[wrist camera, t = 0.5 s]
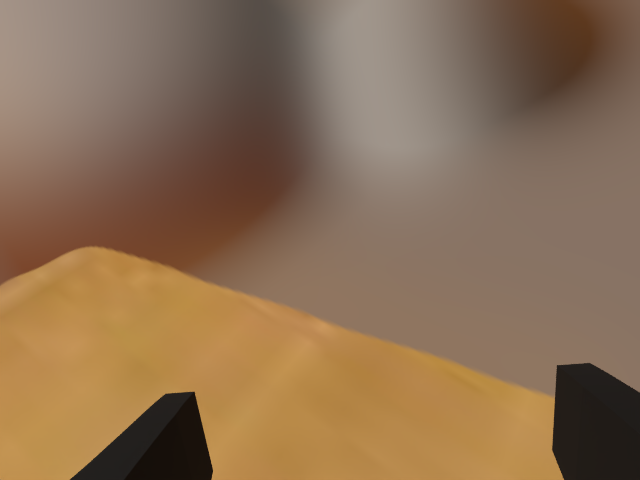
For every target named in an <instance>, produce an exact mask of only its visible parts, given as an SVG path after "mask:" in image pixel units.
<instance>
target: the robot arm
mask: <svg viewBox="0 0 640 480" xmlns="http://www.w3.org/2000/svg"><path fill="white" fill-rule="evenodd" d="M552 451H553V453H554V456H555V458H556V461H557V463H558V466H559V468H560V471H561V473H562V476H563V478H564V480H640V393H639V392H638V391H636V390H635V389H633V388H631V387H630V386H628V385H626V384H625V383H623V382H621V381H620V380H618V379H616V378H615V377H613V376H612V375H610V374H608V373H606V372H605V371H603V370H601V369H600V368H598V367H596V366H594V365H592V364H590V363H584V364H571V365H557V374H556V392H555V410H554V428H553V446H552ZM212 473H213V468H212V464H211V460H210V456H209V451H208V447H207V443H206V439H205V434H204V430H203V426H202V422H201V418H200V413H199V409H198V405H197V401H196V396H195V392H183V393H170V394H165V395H164V396H162V397H161V398H160V399H159V400H158V401H156V402H155V403H154V404H153V405H152V406H151V407H150V408H149V409H147V410H146V411H145V412H144V413H143V414H142V415H141V416H140V417H139V418H138V419H137V420H136V421H134V422H133V423H132V424H131V425H130V426H129V427H128V428H127V429H126V430H125V431H124V432H123V433H122V434H120V435H119V436H118V437H117V438H116V439H115V440H114V441H113V442H112V443H111V444H110V445H108V446H107V447H106V448H105V449H104V450H103V451H102V452H101V453H100V454H99V455H97V456H96V457H95V458H94V459H93V460H92V461H91V462H90V463H89V464H88V465H86V466H85V467H84V468H83V469H82V470H81V471H79V472H78V473H77V474H76V475H75V476H74V477H72V478H71V479H70V480H211V479H212Z"/></svg>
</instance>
